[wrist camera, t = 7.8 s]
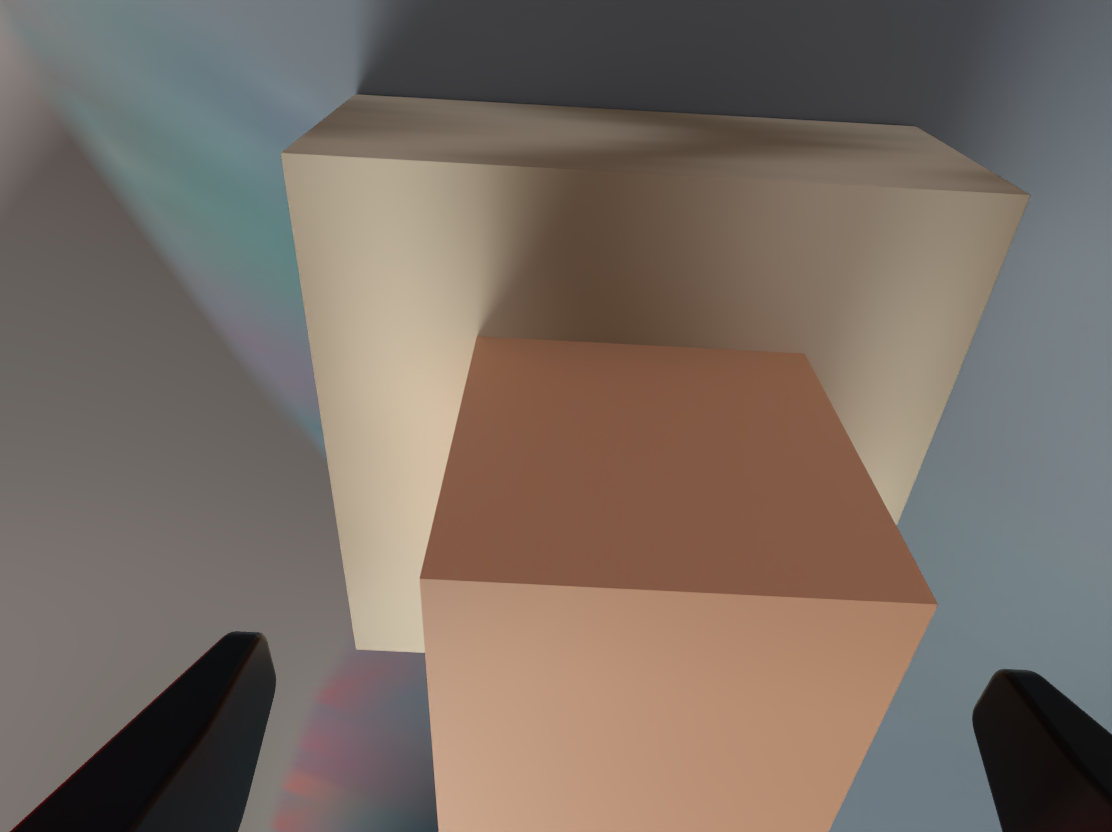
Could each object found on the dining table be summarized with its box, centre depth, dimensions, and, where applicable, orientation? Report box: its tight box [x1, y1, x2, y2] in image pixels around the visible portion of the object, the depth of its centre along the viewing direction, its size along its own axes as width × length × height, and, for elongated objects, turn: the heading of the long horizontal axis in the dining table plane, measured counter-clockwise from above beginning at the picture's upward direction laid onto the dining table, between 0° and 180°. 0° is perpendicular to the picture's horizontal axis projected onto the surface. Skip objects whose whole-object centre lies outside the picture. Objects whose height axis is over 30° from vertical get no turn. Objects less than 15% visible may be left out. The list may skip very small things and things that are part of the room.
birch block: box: [281, 94, 1031, 653], centre depth 14 cm, size 10×10×4 cm
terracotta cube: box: [420, 336, 938, 832], centre depth 11 cm, size 5×5×5 cm
